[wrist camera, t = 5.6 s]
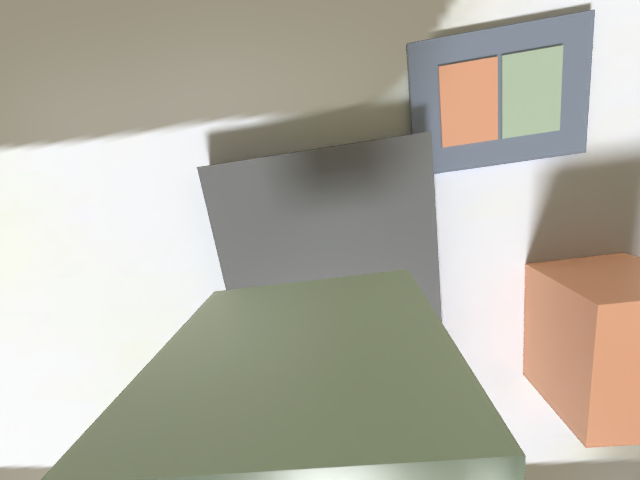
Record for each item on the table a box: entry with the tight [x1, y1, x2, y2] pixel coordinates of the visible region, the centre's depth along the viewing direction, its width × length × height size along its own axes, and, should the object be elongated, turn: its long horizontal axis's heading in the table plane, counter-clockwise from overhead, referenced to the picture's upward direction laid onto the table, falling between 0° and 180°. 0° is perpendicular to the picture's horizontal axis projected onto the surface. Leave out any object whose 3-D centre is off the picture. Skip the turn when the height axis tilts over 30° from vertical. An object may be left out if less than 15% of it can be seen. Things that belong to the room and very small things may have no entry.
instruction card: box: [406, 10, 595, 174], centre depth 15 cm, size 6×8×1 cm
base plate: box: [197, 131, 442, 322], centre depth 17 cm, size 14×11×2 cm
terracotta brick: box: [523, 253, 640, 448], centre depth 15 cm, size 7×5×5 cm
